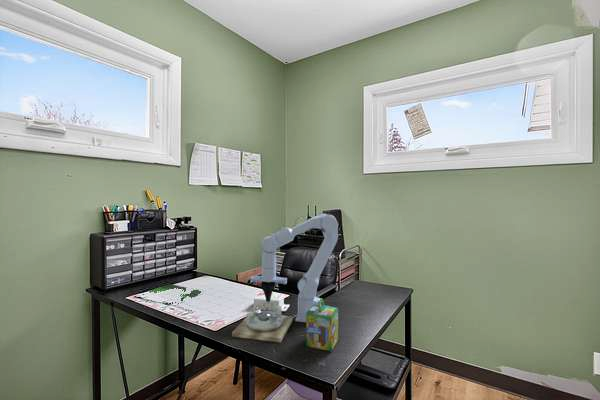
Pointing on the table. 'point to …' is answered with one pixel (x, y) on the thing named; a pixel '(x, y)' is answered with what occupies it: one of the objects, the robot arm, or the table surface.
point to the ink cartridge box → (275, 301)
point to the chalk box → (322, 326)
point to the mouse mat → (171, 286)
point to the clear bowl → (264, 319)
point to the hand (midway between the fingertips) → (268, 300)
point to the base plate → (267, 336)
